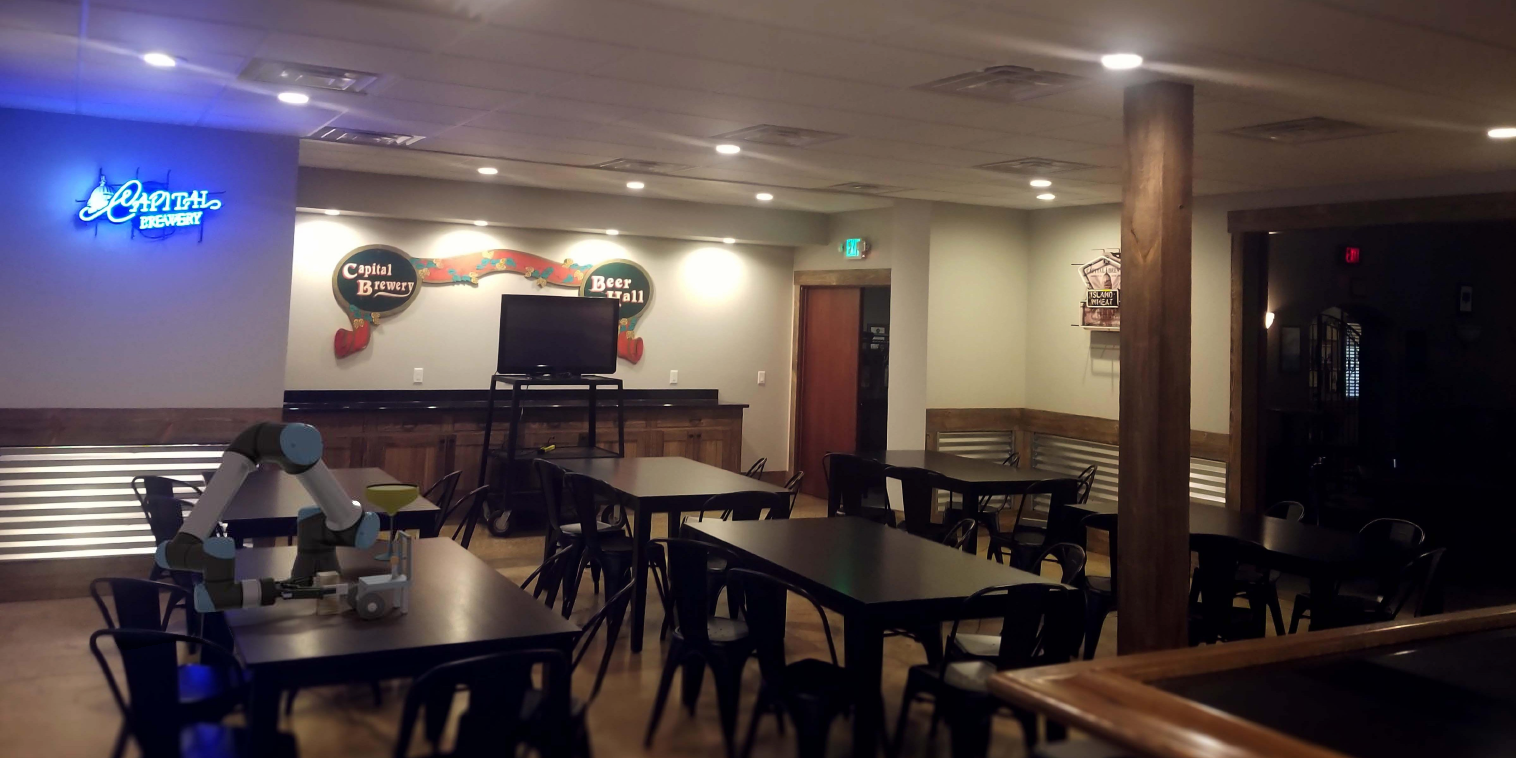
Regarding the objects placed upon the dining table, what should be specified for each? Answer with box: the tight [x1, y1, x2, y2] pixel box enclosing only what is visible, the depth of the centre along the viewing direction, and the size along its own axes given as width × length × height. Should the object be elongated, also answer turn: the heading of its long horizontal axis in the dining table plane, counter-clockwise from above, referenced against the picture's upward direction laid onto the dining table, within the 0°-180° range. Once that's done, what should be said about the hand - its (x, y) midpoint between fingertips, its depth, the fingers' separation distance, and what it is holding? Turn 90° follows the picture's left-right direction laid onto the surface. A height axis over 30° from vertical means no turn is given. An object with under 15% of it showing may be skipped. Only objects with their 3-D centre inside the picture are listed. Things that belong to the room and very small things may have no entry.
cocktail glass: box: [364, 482, 420, 562], centre depth 379 cm, size 18×18×25 cm
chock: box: [315, 571, 341, 616], centre depth 304 cm, size 5×5×11 cm
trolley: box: [344, 530, 413, 621], centre depth 306 cm, size 15×15×22 cm
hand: (342, 584), depth 307 cm, fingers open, 11 cm apart
